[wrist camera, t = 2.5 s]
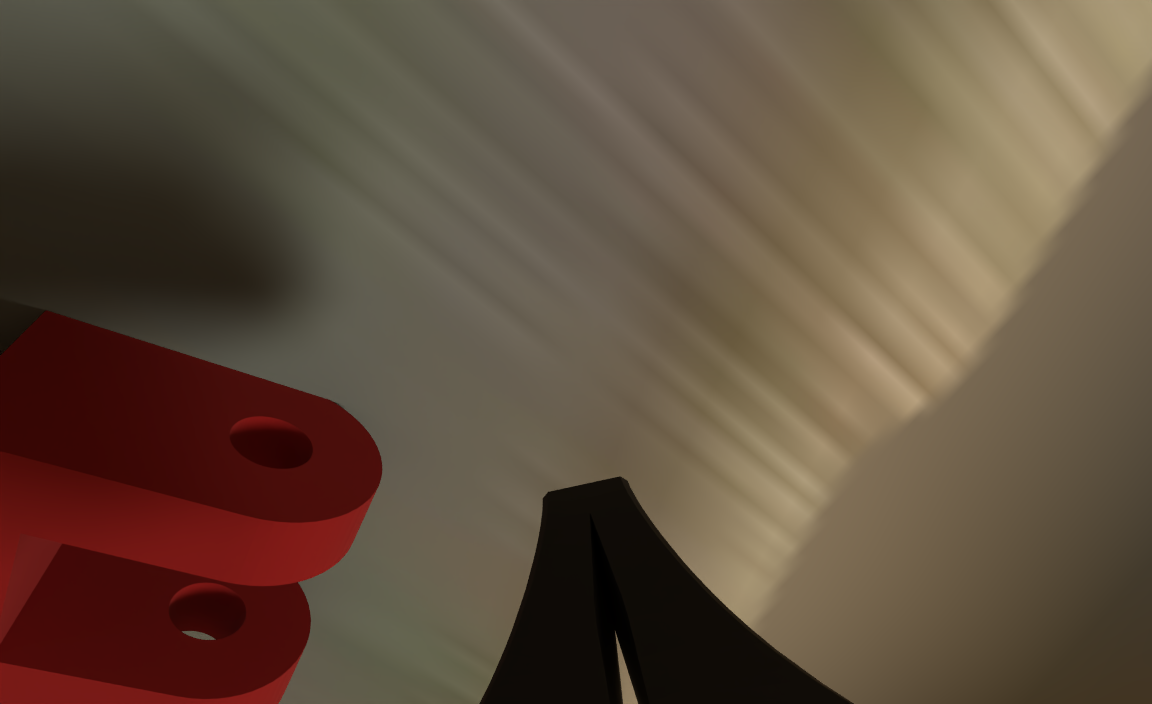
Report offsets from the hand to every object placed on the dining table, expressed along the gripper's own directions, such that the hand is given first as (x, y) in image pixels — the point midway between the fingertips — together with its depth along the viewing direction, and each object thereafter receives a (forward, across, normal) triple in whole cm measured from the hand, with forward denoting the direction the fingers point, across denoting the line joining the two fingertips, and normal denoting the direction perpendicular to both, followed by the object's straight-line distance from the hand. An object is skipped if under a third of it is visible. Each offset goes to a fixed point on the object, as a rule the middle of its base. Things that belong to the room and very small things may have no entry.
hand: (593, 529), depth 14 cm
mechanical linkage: (+8, +13, 0) cm, 15 cm away
